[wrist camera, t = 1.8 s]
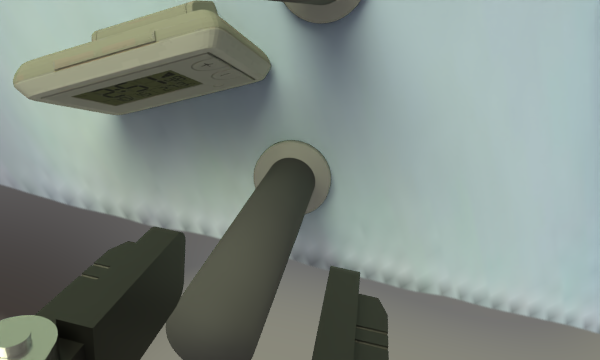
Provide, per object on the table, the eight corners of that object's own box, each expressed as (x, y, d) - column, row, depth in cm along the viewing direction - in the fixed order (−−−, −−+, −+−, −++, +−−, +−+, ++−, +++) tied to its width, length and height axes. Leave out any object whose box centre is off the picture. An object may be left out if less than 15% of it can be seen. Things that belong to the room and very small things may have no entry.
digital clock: (110, 111, 40) (23, 144, 30) (88, 9, 37) (-17, 8, 27) (277, 109, 37) (240, 144, 27) (269, -3, 34) (224, -8, 24)
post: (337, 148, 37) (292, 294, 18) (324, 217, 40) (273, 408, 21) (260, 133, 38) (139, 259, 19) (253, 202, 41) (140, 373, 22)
